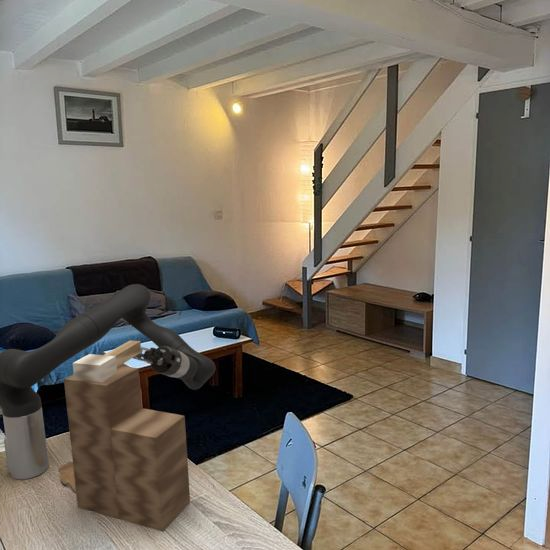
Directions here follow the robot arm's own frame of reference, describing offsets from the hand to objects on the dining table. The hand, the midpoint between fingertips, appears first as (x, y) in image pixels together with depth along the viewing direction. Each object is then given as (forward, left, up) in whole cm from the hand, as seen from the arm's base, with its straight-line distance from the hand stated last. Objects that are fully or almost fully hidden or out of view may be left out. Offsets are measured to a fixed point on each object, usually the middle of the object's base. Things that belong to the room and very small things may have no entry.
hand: (136, 349), depth 130 cm
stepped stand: (+6, -13, -33) cm, 36 cm away
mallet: (-1, -8, -1) cm, 8 cm away
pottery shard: (-16, -8, -34) cm, 39 cm away
